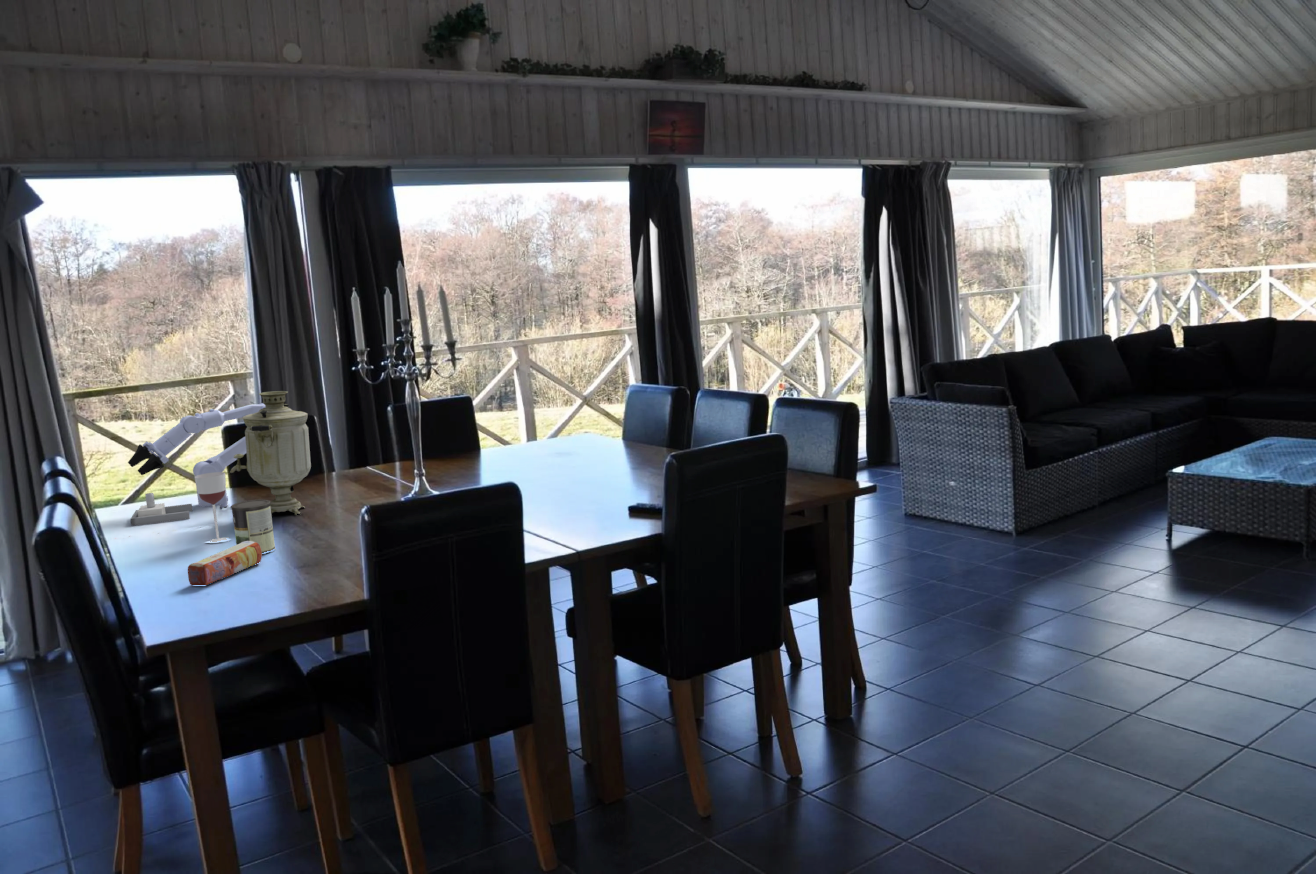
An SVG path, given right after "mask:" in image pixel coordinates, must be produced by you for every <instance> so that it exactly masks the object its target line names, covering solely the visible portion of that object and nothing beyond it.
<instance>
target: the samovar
mask: <svg viewBox="0 0 1316 874" xmlns="http://www.w3.org/2000/svg"><path fill="white" fill-rule="evenodd" d="M288 393H289V391H285V390H277V391H276V390H275V391H264V392H260V393H258V395H259V396H260V397H261V398H262V403H263V404H265V406H266V407H265V408H262V409H261V410H259V411H258V412H257V413H254V414H249V415H246V416H244V417H243V418H242V420H243V423H244V424H245V426H246V428H245V430H244V435H245V436H244V437H245V439H246V452H247V453H246V465H242V464H241V458H243V457H244V456H245V454H244V455H243V454H236V455H234V458H237V460H236V461H237V463H236V465H234V466H233V467H231V469H230V471H229V473H231V474H232V473H235V471H237V472H241V471H242V470H245V469H246V471H247V472H248V475H249V476H250V477H251V478H252V479H253V481H256V482H257V484H259V485H261V486H264V487H267V488H269V489H270V494H271V495H273V496H274V497H275V499H272V500H270V508H271V515H272V514H273V513H275V512H277V513H280V512H282V513H283V512H286V511H289V512H291V513H294V516H298V515H297V514H300V513H301V511H299V509H302V508H301V507H304V509H306V507H305V506H304V505H302V504H301V502H300V501H299V500H297V499H296V497H292V496H291V495H292V493H294V492H295V490H294V486H295V485H296V484H298V483H300V482H301V481H303V479H304V478H305V477H307V476H308V475H309V473H310V471H311V467H312V463H311V451H310V447H311V446H310V436H309V435H310V434H309V426H308V425H307V424H306V422H307V420H308V414H309V413H307V412H305V411H301V410H299V411H298V410H293V409H292V408H290V407H289V404H288V403H285V402H286V395H287V394H288ZM300 515H301V514H300Z"/></svg>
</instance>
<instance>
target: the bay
mask: <svg viewBox="0 0 1316 874" xmlns="http://www.w3.org/2000/svg"><path fill="white" fill-rule="evenodd" d="M138 510H139V509H137V510H136V509H135V511H134V512H133V514H132V516H131V517H130V523H131V524H130V525H131V527H135V526H143V525H150V524H151V525H152V524H160V523H166V522H167V523H168V522H177V521H183V520H190V519H191V516H190V512H193V510H194V509H193V503H186V504H178V505H177V504H176V505H170V506H165V512H166V514H161V515H153V516H145V517H138Z"/></svg>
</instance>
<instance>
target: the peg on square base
mask: <svg viewBox="0 0 1316 874" xmlns="http://www.w3.org/2000/svg"><path fill="white" fill-rule="evenodd" d="M144 495H145V501H146V502H145V503H146V505H145V504H144V505H141V506H140V507H139V509H137V510H138V517H145V516H153V515H161V514H166V512H165V507H166V505H165V502H164V503H155V495H154V492H148V493H145V494H144Z"/></svg>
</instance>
